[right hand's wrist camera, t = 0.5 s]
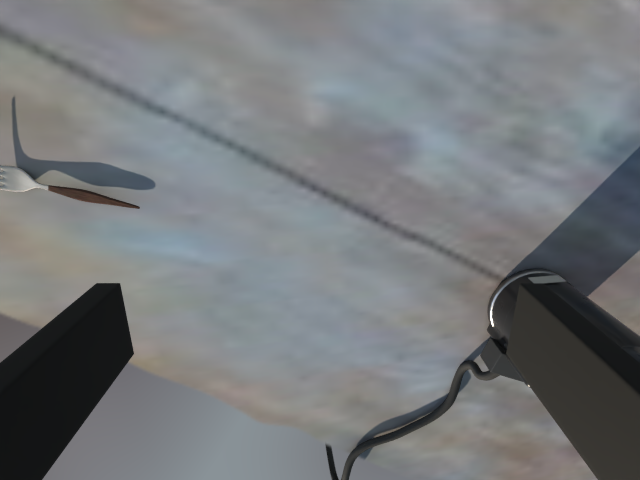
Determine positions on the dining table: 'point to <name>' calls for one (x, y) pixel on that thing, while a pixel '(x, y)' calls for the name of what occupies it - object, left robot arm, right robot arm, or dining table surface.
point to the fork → (51, 188)
